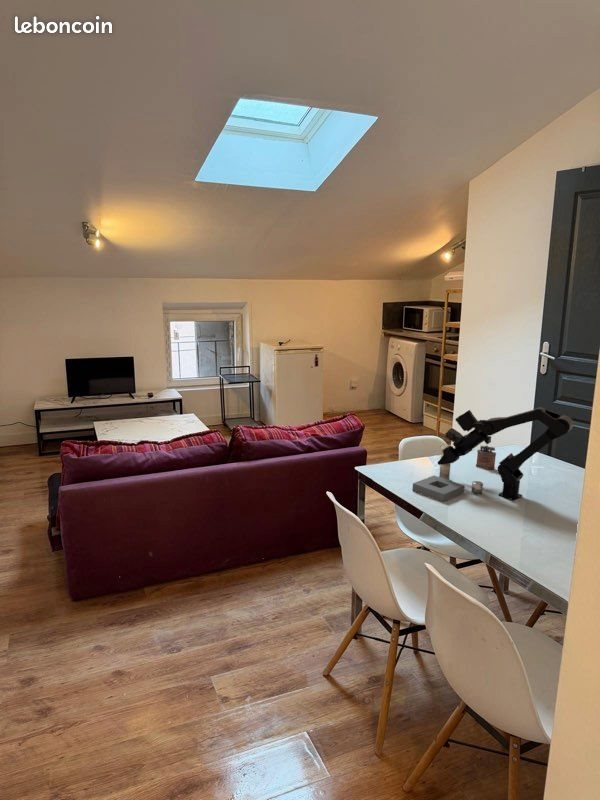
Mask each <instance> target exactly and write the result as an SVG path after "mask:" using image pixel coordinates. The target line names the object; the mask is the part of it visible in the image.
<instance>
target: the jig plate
mask: <svg viewBox="0 0 600 800" xmlns="http://www.w3.org/2000/svg"><path fill="white" fill-rule="evenodd" d="M465 486H466V485H465V484H461V483H458V482H455V481H453V480H450V479H449V480H447V479H444V478H441V477H439V476H437V475H431V476H428V477H426V478H424V479H421V480H418V481H415V482H414V483H412V490H413V492H415V491H416V492H415V493H418V492H419V493H418V494H420V493H422V494H421V495H423V494H424V495H423V496H426V495H427V496H426V497H428V496H430V497H429V498H431V497H433V498H432V499H434V498H435V499H434V500H437V499H438V500H437V501H439V500H441V502H442V501H444V502H446V501H448V500H451V499H453V498H455V497H458V496H460V495H463V494H464V493H465V488H466V487H465ZM412 490H411V491H412Z"/></svg>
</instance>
